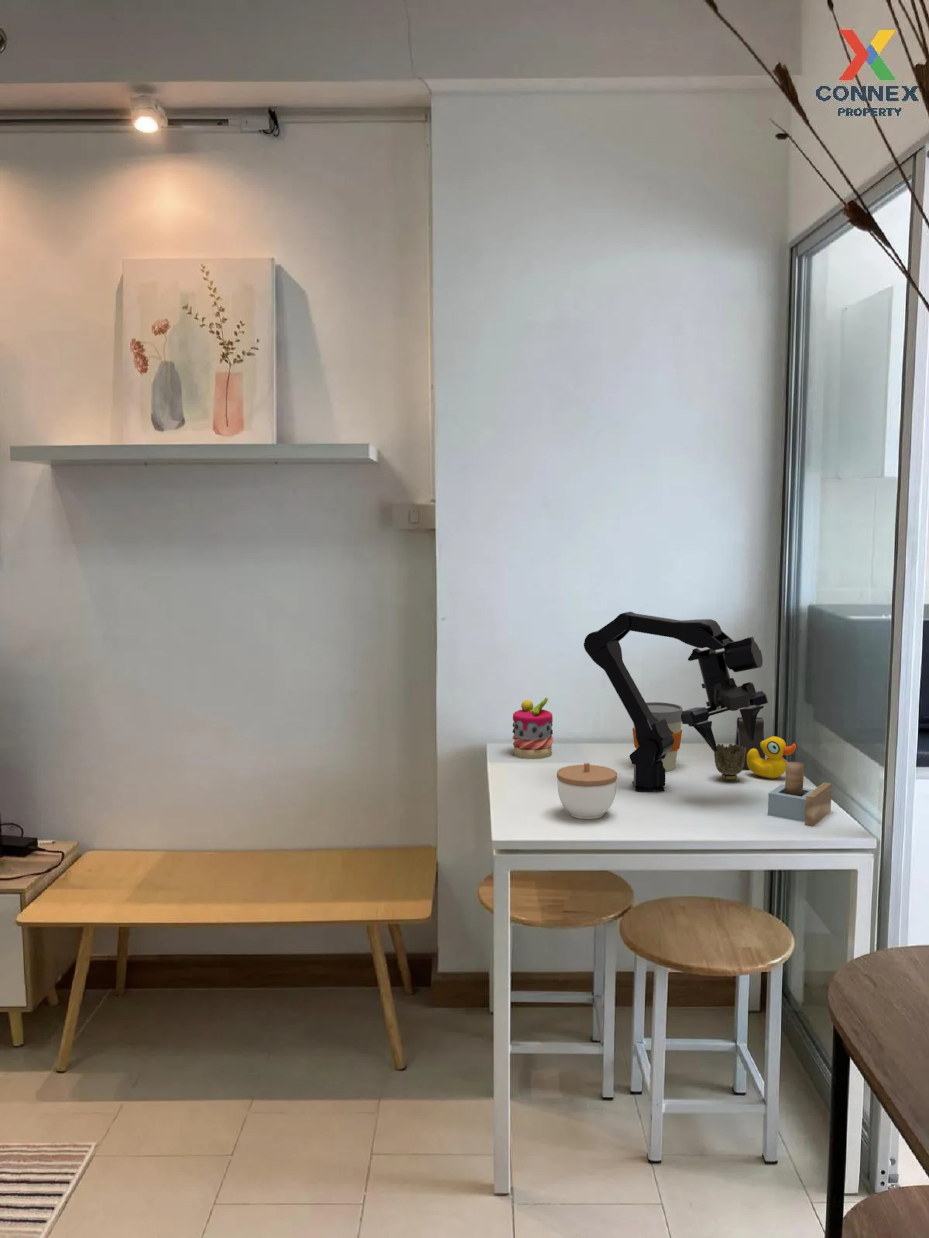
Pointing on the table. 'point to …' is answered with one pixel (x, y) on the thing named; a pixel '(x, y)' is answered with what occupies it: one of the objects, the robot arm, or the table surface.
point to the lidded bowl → (586, 790)
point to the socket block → (787, 804)
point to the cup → (729, 761)
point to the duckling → (770, 758)
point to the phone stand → (744, 740)
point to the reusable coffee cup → (674, 723)
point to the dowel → (794, 778)
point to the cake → (532, 731)
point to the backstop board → (818, 804)
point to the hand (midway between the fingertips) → (733, 745)
